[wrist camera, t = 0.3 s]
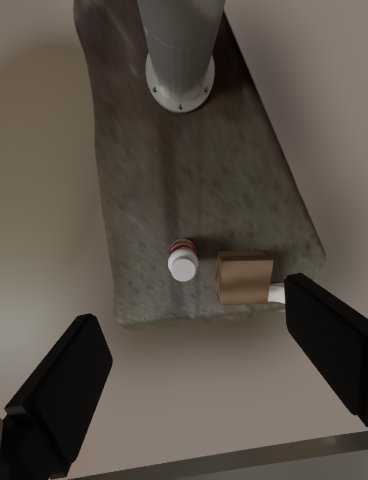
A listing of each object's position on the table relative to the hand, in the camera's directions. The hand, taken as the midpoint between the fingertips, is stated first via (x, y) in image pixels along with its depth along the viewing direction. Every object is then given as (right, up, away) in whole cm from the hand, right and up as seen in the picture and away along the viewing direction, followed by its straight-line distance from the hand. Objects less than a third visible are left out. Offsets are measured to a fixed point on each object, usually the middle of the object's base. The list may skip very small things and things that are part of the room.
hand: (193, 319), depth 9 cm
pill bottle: (-1, +1, +36) cm, 36 cm away
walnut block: (+13, -4, +38) cm, 41 cm away
